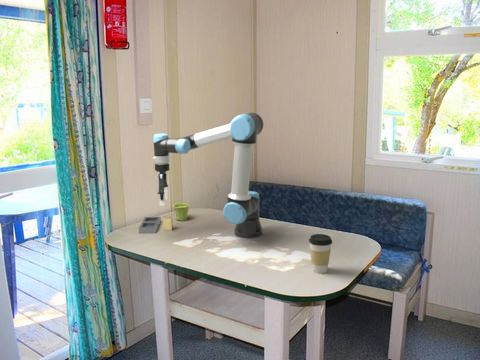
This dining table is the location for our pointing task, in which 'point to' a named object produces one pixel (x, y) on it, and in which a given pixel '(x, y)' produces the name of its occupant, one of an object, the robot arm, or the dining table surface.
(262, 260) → the dining table surface
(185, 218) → the plant pot
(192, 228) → the dining table surface
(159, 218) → the grey double window frame
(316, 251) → the coffee cup
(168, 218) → the yellow rectangular block
